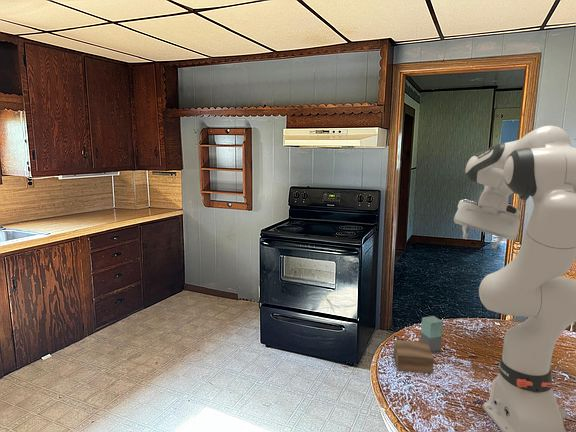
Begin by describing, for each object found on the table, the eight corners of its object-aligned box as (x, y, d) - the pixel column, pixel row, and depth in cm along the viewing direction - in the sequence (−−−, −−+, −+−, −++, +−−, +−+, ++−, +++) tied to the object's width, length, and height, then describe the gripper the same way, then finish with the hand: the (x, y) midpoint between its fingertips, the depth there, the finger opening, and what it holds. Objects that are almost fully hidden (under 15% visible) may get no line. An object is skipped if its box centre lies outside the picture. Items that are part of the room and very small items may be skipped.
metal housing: (440, 350, 144) (443, 321, 142) (429, 352, 142) (431, 323, 140) (431, 344, 149) (433, 315, 147) (420, 346, 147) (422, 317, 145)
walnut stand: (432, 373, 130) (433, 358, 129) (397, 370, 131) (398, 356, 130) (426, 355, 140) (427, 342, 140) (393, 353, 142) (394, 339, 141)
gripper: (461, 194, 141) (448, 230, 139) (525, 212, 133) (512, 250, 131) (459, 200, 147) (447, 235, 144) (521, 218, 139) (509, 255, 136)
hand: (478, 242), depth 137 cm, fingers open, 8 cm apart
